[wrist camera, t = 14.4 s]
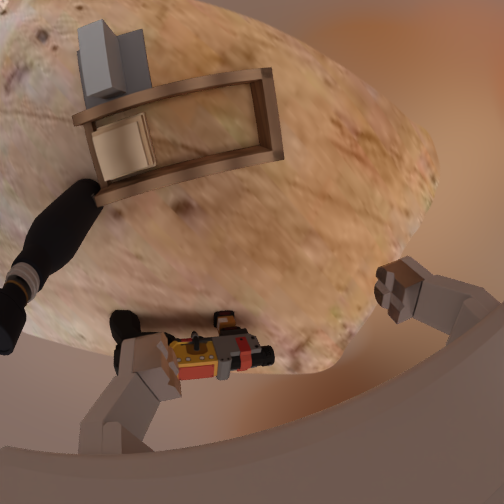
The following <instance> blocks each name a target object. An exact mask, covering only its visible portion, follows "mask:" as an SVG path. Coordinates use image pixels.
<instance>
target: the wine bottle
mask: <svg viewBox="0 0 504 504" xmlns="http://www.w3.org/2000/svg"><path fill="white" fill-rule="evenodd" d="M100 190H101V188H100V185H99V184H98V183H97V182H96V181H94V180H91V179H81V180H78V181H77V182H76V183H74V184H73V185H72V186H71V187H70V188H68V189H67V190H66V191H65V192H64V193H63V194H61V195H60V196H59V197H58V198H57V199H56V200H55V201H54V202H52V203H51V204H50V205H49V206H48V207H47V208H46V209H45V210H44V211H43V212H42V213H41V214H39V215H38V216H37V217H36V218H35V220H34V222H33V223H32V225H31V227H30V229H29V231H28V234H27V236H26V238H25V242H24V246H23V250H22V251H21V253H20V254H19V255H18V256H17V258H16V259H15V260H14V261H13V264H12V266H11V270H10V271H9V272H8V273H7V276H6V280H5V284H4V286H3V288H0V355H9V354H11V353H12V352H13V350H14V348H15V345H16V343H17V340H18V338H19V336H20V333H21V331H22V329H23V327H24V325H25V322H26V312H25V309H24V307H25V306H26V305H27V303H29V302H30V301H31V300H33V299H34V298H35V296H36V294H37V293H38V292H39V291H40V290H41V289H42V287H43V286H44V284H45V282H46V280H47V278H48V277H49V275H51V274H53V273H54V272H56V271H58V270H59V269H61V268H62V267H63V266H64V265H66V264H67V263H68V262H69V261H70V260H71V259H72V258H73V256H74V255H75V253H76V252H77V250H78V248H79V246H80V245H81V243H82V241H83V240H84V238H85V236H86V234H87V233H88V231H89V230H90V228H91V226H92V225H93V223H94V221H95V220H96V218H97V217H98V215H99V214H100V212H101V210H102V209H103V207H104V205H103V206H101V207H97V204H96V201H95V199H94V197H95V196H96V194H97V193H98V192H99V191H100Z"/></svg>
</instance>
